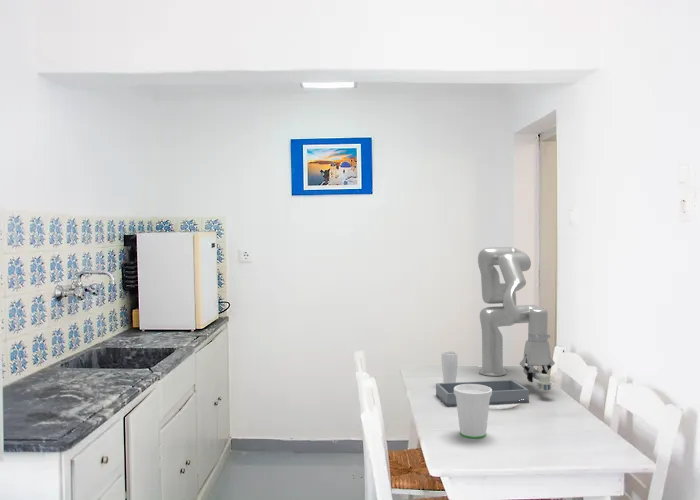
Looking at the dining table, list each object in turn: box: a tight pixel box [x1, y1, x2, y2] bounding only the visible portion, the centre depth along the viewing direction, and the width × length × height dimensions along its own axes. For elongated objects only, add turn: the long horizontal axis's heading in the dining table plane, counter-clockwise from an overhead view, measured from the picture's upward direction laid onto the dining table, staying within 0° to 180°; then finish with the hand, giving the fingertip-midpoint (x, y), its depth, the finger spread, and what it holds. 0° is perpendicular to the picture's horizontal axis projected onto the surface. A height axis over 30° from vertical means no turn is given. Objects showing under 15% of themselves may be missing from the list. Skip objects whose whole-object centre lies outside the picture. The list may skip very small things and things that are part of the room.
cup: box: [454, 384, 492, 439], centre depth 195 cm, size 12×12×15 cm
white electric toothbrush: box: [523, 366, 553, 391], centre depth 244 cm, size 5×7×25 cm
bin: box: [435, 379, 530, 408], centre depth 236 cm, size 16×33×5 cm, turn 97°
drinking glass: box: [441, 350, 458, 383], centre depth 255 cm, size 7×7×15 cm
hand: (536, 380), depth 244 cm, fingers closed on white electric toothbrush, 5 cm apart
